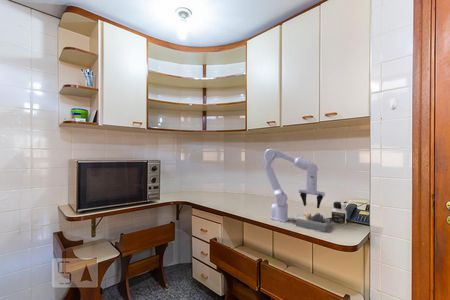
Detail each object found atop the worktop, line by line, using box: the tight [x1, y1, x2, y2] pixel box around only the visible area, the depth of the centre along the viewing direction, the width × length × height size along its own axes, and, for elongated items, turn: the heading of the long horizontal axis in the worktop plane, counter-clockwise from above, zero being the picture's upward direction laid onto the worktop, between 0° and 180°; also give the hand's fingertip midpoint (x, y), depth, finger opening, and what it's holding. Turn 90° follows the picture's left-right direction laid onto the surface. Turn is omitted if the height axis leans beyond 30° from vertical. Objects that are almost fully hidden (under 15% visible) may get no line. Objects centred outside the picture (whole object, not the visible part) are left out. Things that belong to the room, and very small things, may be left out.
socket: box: [296, 214, 332, 233], centre depth 124 cm, size 15×12×4 cm
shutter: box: [294, 213, 312, 220], centre depth 128 cm, size 7×7×3 cm
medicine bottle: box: [331, 201, 348, 226], centre depth 130 cm, size 7×7×12 cm
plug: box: [313, 212, 324, 223], centre depth 122 cm, size 4×4×7 cm
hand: (311, 206), depth 130 cm, fingers open, 7 cm apart
